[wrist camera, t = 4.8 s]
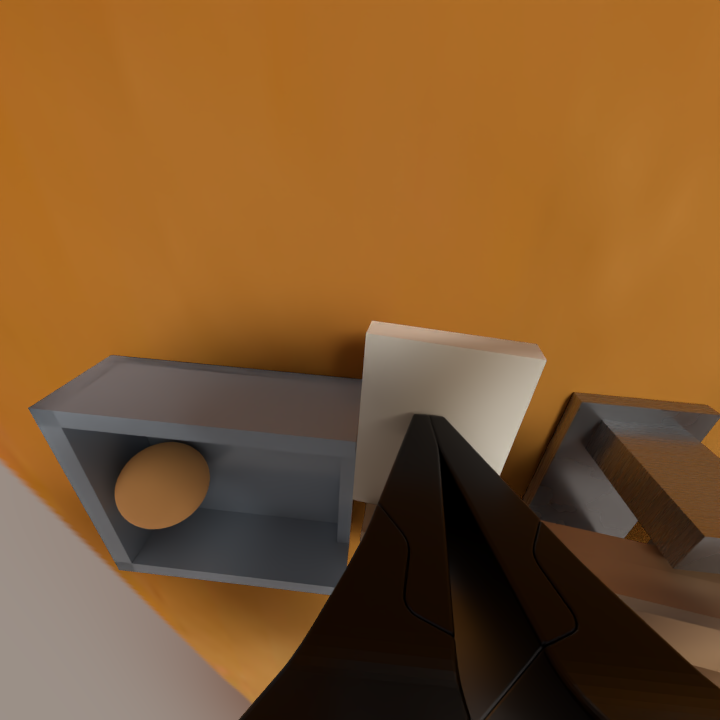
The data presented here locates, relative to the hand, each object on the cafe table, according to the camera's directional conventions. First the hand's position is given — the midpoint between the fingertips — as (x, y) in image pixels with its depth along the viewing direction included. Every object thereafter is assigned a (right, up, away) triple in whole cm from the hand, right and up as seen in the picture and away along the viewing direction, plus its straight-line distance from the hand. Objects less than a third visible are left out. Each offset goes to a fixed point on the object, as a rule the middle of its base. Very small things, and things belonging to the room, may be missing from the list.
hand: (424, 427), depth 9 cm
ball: (-10, -3, +5) cm, 12 cm away
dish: (-7, -3, +7) cm, 10 cm away
